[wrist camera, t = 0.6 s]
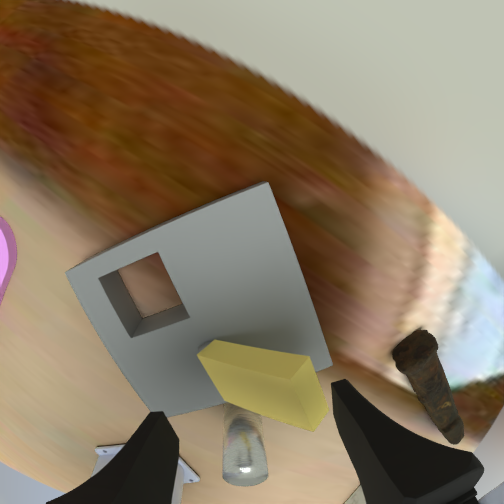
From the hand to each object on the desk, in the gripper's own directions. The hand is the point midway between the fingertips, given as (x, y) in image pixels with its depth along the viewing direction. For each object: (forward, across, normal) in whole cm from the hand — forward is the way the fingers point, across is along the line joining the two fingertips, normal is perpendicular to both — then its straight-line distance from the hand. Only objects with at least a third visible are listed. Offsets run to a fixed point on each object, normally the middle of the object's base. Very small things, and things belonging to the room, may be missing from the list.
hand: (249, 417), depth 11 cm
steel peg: (+10, +2, +9) cm, 14 cm away
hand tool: (+11, -17, +15) cm, 25 cm away
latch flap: (+5, -1, +2) cm, 5 cm away
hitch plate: (+10, +3, -1) cm, 11 cm away
